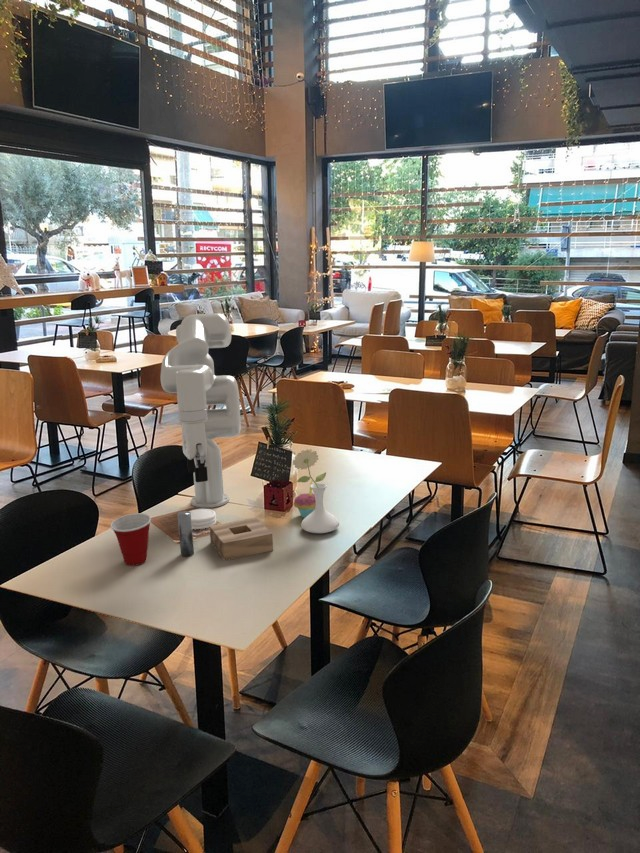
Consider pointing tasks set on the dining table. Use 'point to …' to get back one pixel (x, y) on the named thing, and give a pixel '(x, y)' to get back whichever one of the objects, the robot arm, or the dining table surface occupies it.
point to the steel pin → (185, 533)
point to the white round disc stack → (202, 518)
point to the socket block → (241, 538)
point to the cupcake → (305, 503)
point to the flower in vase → (319, 517)
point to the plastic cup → (132, 537)
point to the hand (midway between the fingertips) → (197, 476)
